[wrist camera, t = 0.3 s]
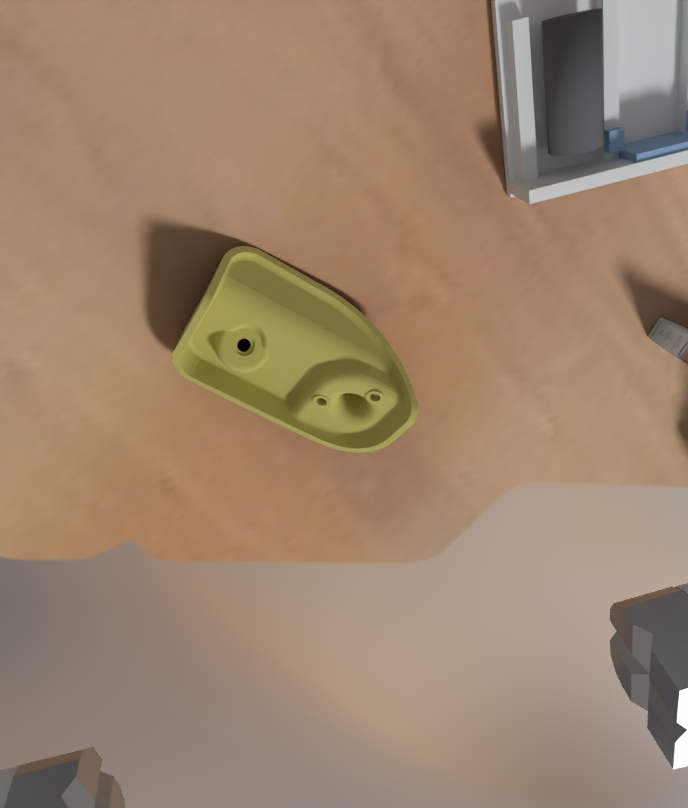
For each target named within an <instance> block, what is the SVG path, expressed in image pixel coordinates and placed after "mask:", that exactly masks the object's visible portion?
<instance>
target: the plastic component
mask: <svg viewBox="0 0 688 808" xmlns="http://www.w3.org/2000/svg"><path fill="white" fill-rule="evenodd" d="M244 338H245V339H247V340H248V341H249V342H250V348H249V350H247V351H245V352H242V351H240V350H239V349H238V347H237V343H238V341H239V340H241V339H244ZM172 361H173V365H174V367H175V369H176V370H177V371H178V372H179V374H180V375H182V376H183V377H184V378H186V379H187V380H189V381H190V382H192V383H195V384H197V385H199V386H201V387H203V388H205V389H207V390H209V391H211V392H213V393H215V394H217V395H219V396H221V397H223V398H226V399H228V400H230V401H232V402H234V403H236V404H238V405H240V406H242V407H244V408H246V409H248V410H250V411H252V412H254V413H256V414H259V415H261V416H263V417H265V418H267V419H269V420H271V421H273V422H275V423H277V424H279V425H281V426H283V427H285V428H287V429H289V430H292V431H294V432H296V433H298V434H300V435H302V436H304V437H306V438H309V439H311V440H313V441H315V442H318V443H320V444H322V445H325V446H328V447H331V448H334V449H337V450H341V451H346V452H360V453H361V452H370V451H375V450H379V449H381V448H384V447H386V446H387V445H389V444H391V443H392V442H393V441H395V440H396V439H397V438H398V437H399V436H400V435H401V434H403V433H404V432H405V431H406V430H407V429H408V428H409V427H410V426H412V425H413V424H414V422H415V421H416V419H417V415H418V404H417V400H416V397H415V393H414V390H413V388H412V385H411V382H410V380H409V378H408V376H407V374H406V371H405V369H404V367H403V366H402V364H401V362H400V360H399V358H398V357H397V355H396V354H395V352H394V351H393V349H392V348H391V346H390V345H389V343H388V342H387V341H386V339H385V338H384V337H383V335H382V334H381V333H380V332H379V331H378V329H377V328H376V327H375V326H374V325H373V324H372V323H371V321H370V320H369V319H367V318H366V317H365V316H364V315H363V314H362V313H361V312H360V311H359V310H358V309H357V308H355V307H354V306H353V305H352V304H350V303H349V302H348V301H346V300H345V299H344V298H342V297H341V296H339V295H338V294H337V293H335V292H333V291H332V290H330V289H328V288H326V287H325V286H323V285H321V284H319V283H317V282H316V281H314V280H312V279H310V278H309V277H307V276H305V275H303V274H302V273H300V272H298V271H296V270H295V269H293V268H291V267H289V266H288V265H286V264H284V263H282V262H280V261H279V260H277V259H275V258H273V257H272V256H270V255H268V254H266V253H265V252H263V251H261V250H259V249H257V248H254V247H250V246H239V247H235V248H233V249H231V250H229V251H228V252H227V253H226V254H225V255H224V256H223V258H222V260H221V262H220V264H219V266H218V268H217V270H216V272H215V274H214V276H213V278H212V280H211V282H210V284H209V286H208V288H207V290H206V292H205V294H204V295H203V297H202V299H201V301H200V302H199V304H198V306H197V308H196V309H195V311H194V313H193V315H192V317H191V318H190V320H189V322H188V324H187V325H186V327H185V329H184V331H183V333H182V335H181V337H180V339H179V341H178V343H177V346H176V348H175V350H174V352H173V355H172ZM374 394H378V396H375V395H374ZM319 398H323V399H325V400H322V399H319Z"/></svg>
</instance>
